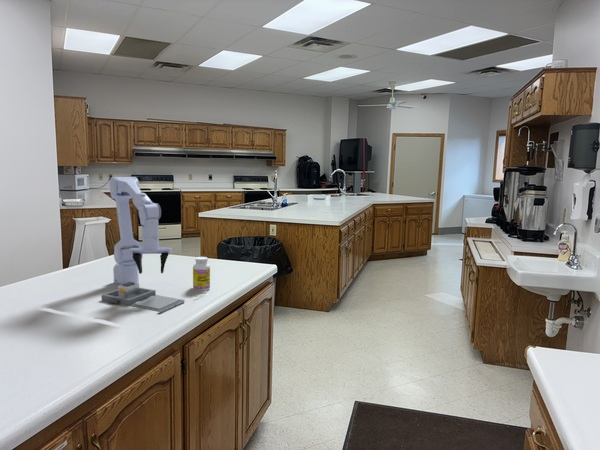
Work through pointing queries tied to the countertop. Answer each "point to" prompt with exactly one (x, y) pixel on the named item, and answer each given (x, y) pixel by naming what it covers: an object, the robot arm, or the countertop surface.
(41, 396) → the countertop surface
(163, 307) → the case
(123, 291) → the block
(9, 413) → the countertop surface
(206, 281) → the supplement bottle
